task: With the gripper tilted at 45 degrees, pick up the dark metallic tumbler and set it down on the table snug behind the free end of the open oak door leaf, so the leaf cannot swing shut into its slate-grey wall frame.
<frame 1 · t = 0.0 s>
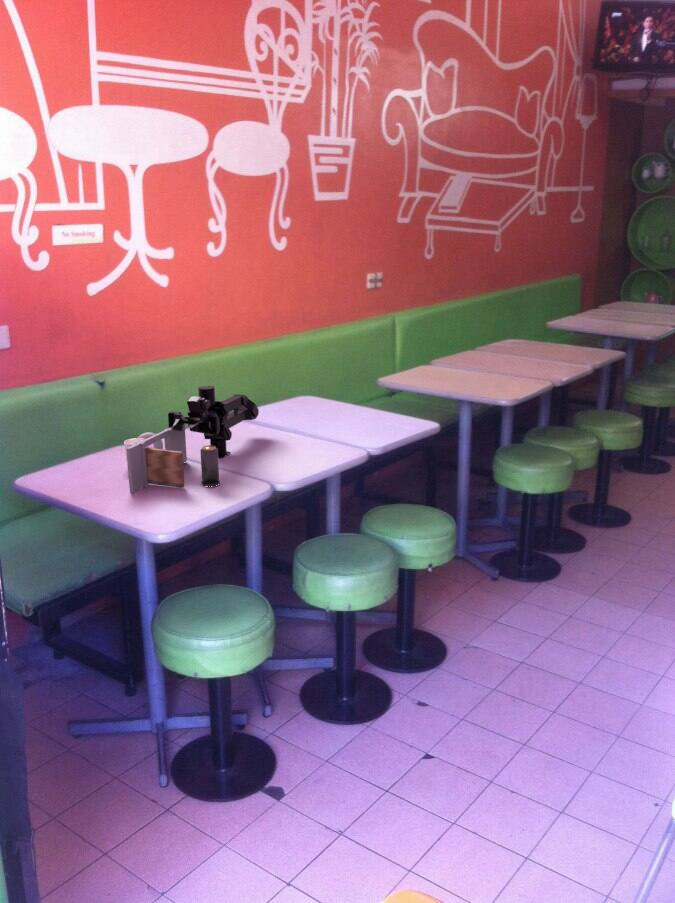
hand: (181, 428, 286), 17 cm above the table, tool horizontal, fingers open, 6 cm apart
wall frame: (159, 476, 290), on the table
door: (163, 467, 278), point 6 cm above the table, hinge at 90.0°
donut: (150, 459, 309), on the table
dark metallic tumbler: (210, 484, 282), on the table
white cup: (137, 469, 299), on the table
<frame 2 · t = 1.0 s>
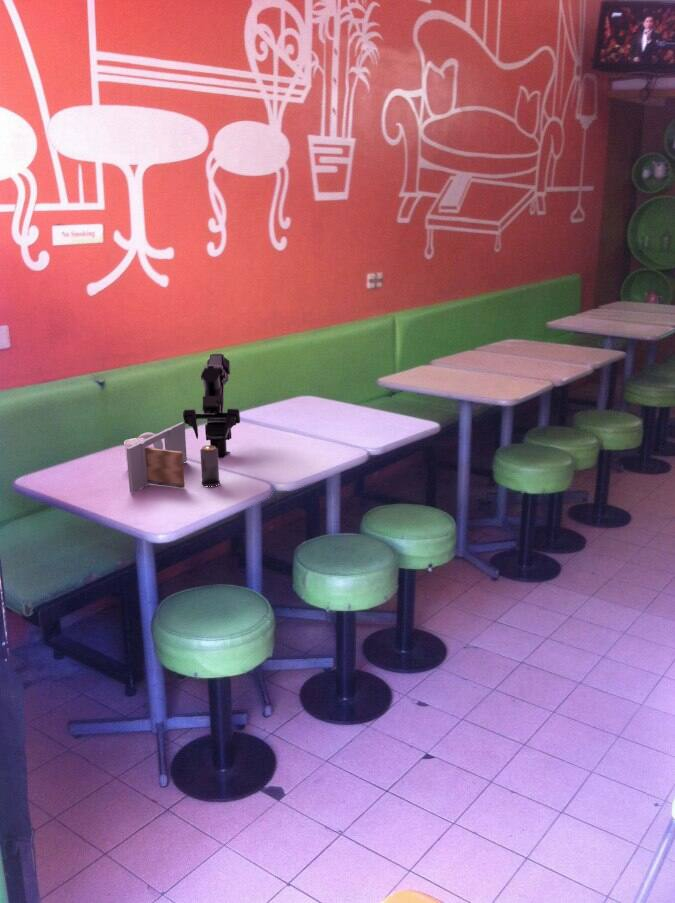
hand: (210, 438, 286), 14 cm above the table, tool tilted 45°, fingers open, 9 cm apart
nothing on the table moved.
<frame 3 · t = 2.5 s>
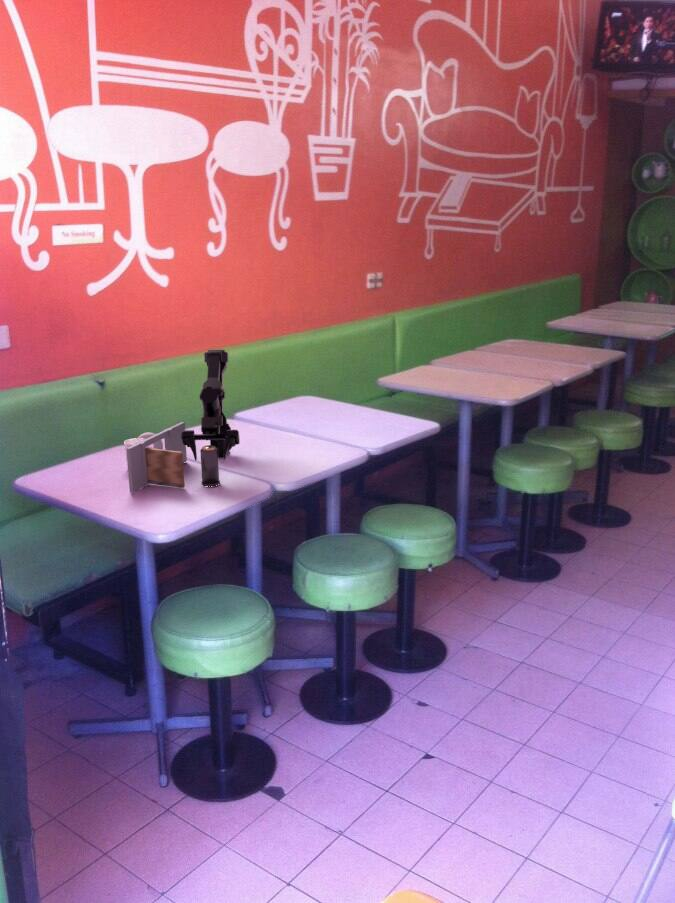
hand: (209, 459, 280), 8 cm above the table, tool tilted 45°, fingers open, 9 cm apart
nothing on the table moved.
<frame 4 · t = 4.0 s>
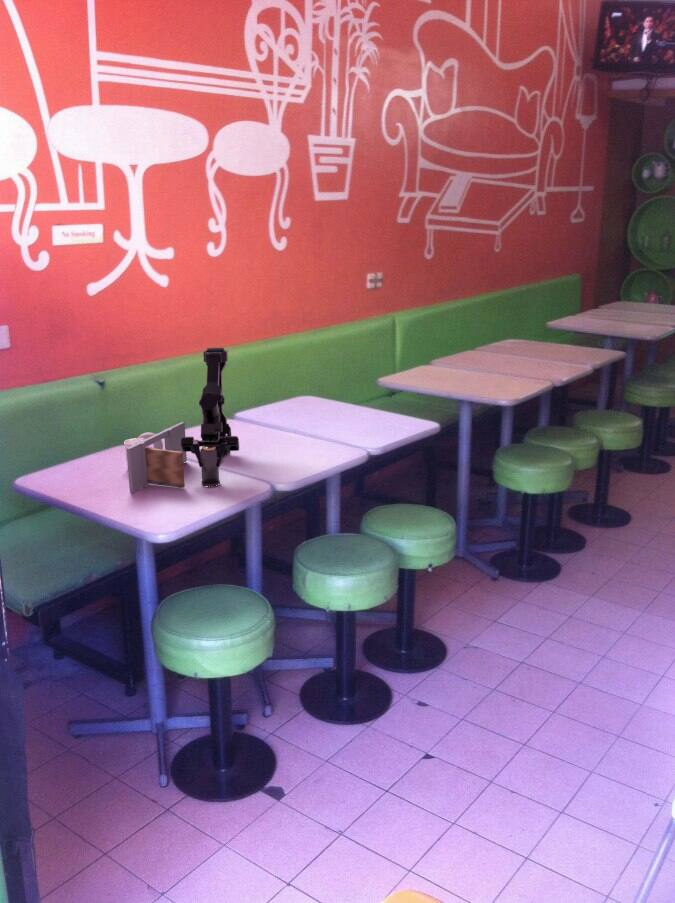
hand: (209, 466, 279), 7 cm above the table, tool tilted 45°, fingers closed on dark metallic tumbler, 6 cm apart
dark metallic tumbler: (210, 484, 282), on the table, touching gripper
everything else where it was.
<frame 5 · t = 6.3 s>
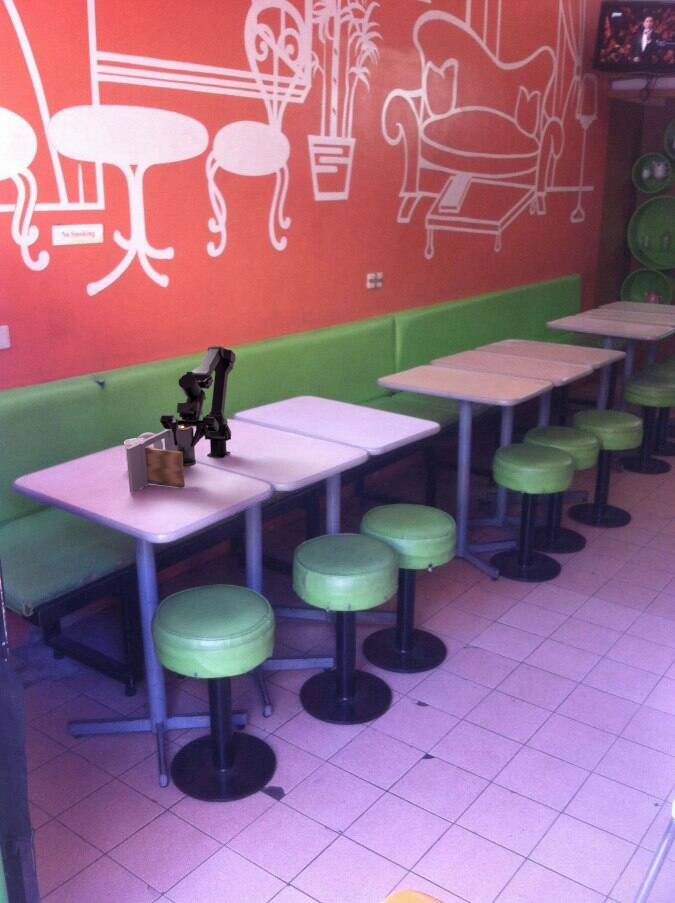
hand: (184, 445, 279), 13 cm above the table, tool tilted 45°, fingers closed on dark metallic tumbler, 6 cm apart
dark metallic tumbler: (186, 463, 282), point 7 cm above the table, touching gripper
everything else where it was.
when the fingers open (8 cm above the table, at t = 8.4 s): dark metallic tumbler drops 1 cm, on the table.
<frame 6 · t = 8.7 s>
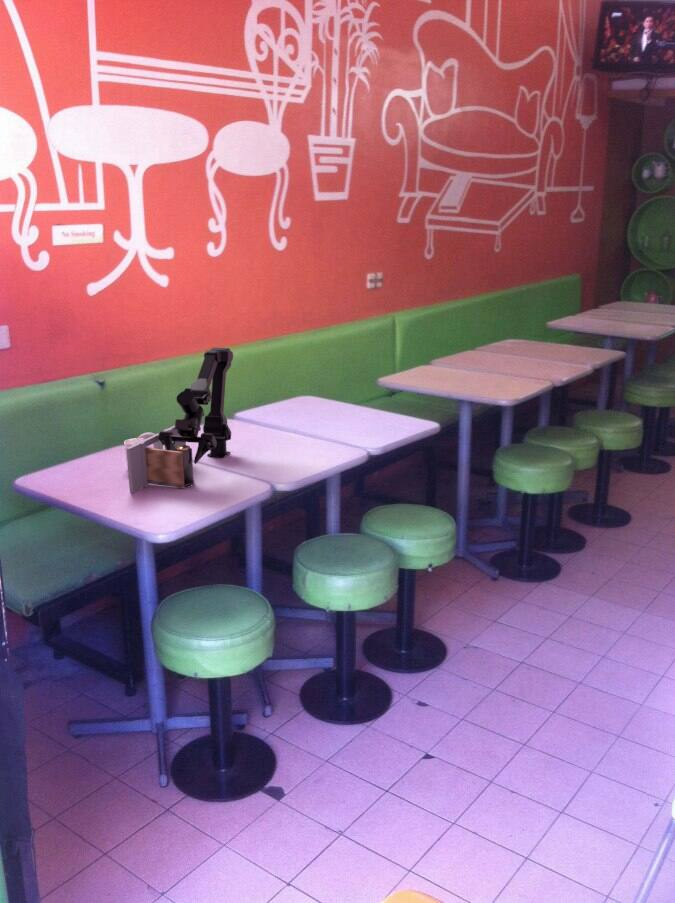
hand: (181, 462, 279), 8 cm above the table, tool tilted 45°, fingers open, 9 cm apart
dark metallic tumbler: (185, 484, 283), on the table
everything else where it was.
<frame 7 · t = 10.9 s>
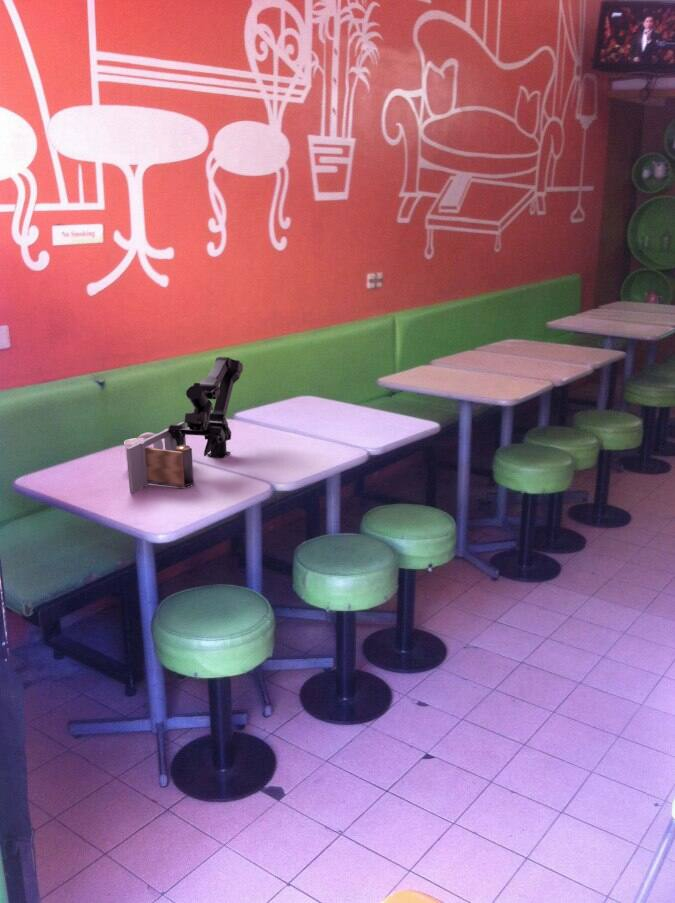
hand: (191, 454, 287), 8 cm above the table, tool tilted 45°, fingers open, 9 cm apart
nothing on the table moved.
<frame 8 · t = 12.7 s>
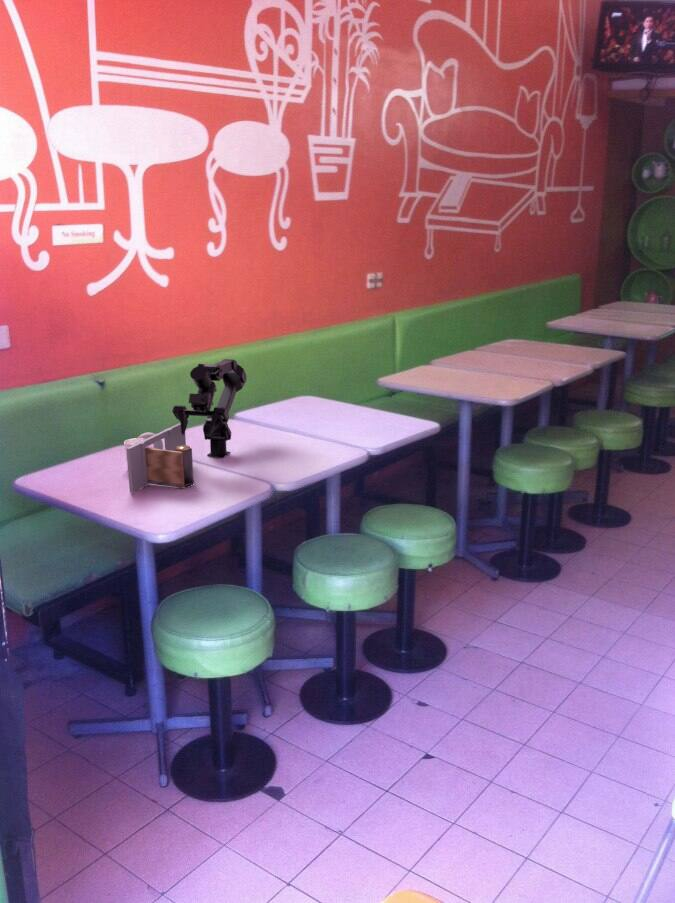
hand: (195, 435, 289), 14 cm above the table, tool tilted 45°, fingers open, 9 cm apart
nothing on the table moved.
at the end: dark metallic tumbler 0.5 cm from the target spot, on the table; dark metallic tumbler tilted 1°; door at +90° (first picture: +90°) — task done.
